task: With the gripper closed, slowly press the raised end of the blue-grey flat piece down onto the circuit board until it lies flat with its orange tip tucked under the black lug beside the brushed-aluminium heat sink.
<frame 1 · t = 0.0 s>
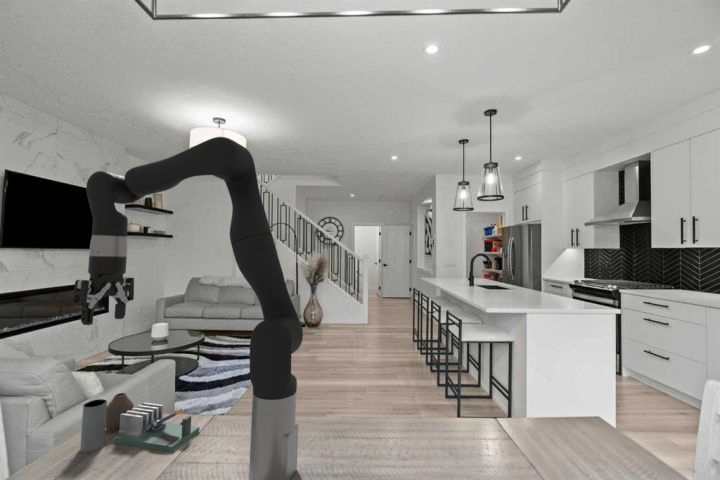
hand: (104, 321, 86), 29 cm above the table, tool pointing down, fingers open, 8 cm apart
heatsink: (141, 434, 90), resting on board
board: (158, 436, 89), on the table
blue-grey flat piece: (167, 417, 90), point 5 cm above the table, hinge at 30.0°
vase: (118, 429, 93), on the table
lug: (185, 438, 89), resting on board
planter: (92, 448, 84), on the table
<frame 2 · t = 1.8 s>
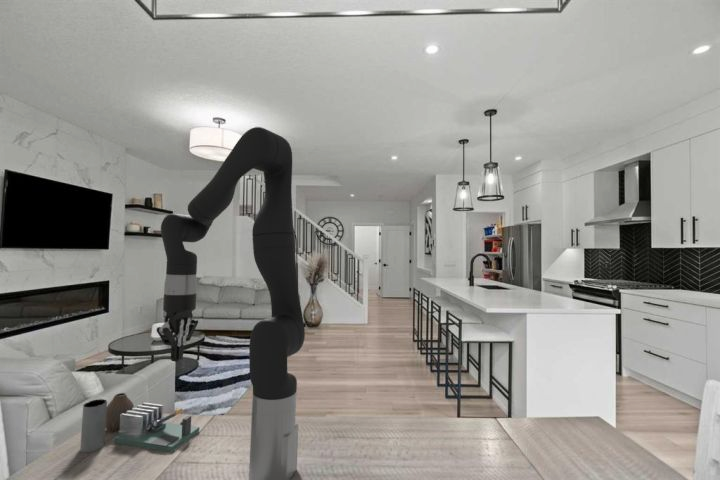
hand: (176, 360, 90), 19 cm above the table, tool pointing down, fingers closed
nothing on the table moved.
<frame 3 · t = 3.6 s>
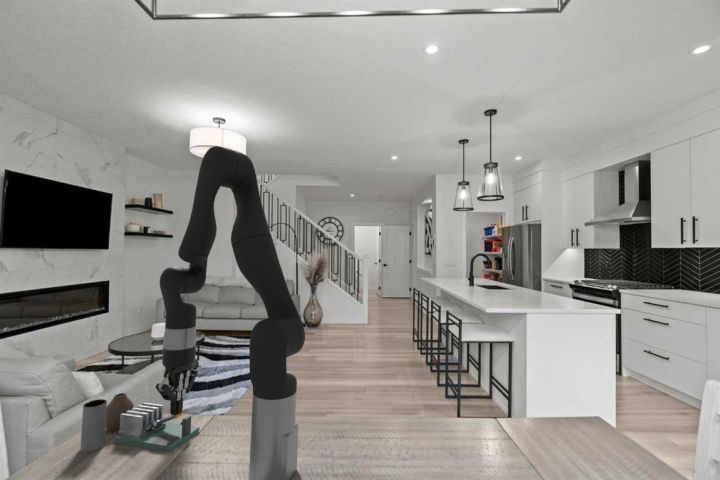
hand: (176, 414, 90), 6 cm above the table, tool pointing down, fingers closed
blue-grey flat piece: (168, 418, 90), point 4 cm above the table, hinge at 24.4°, touching gripper
everything else where it was.
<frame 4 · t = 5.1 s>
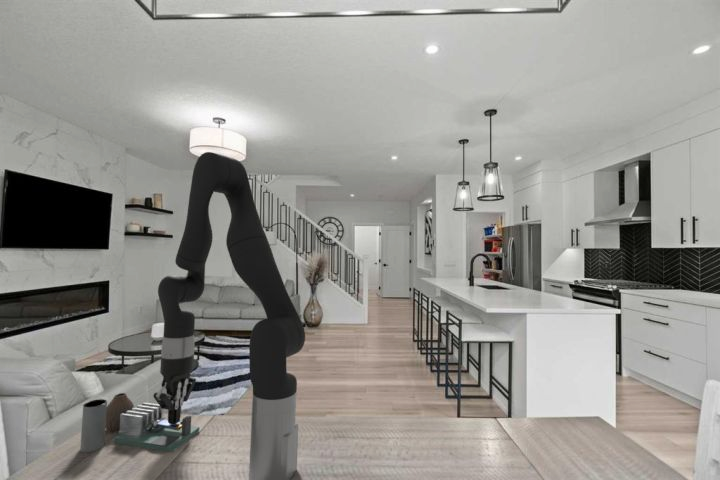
hand: (174, 422, 90), 4 cm above the table, tool pointing down, fingers closed
blue-grey flat piece: (168, 424, 90), point 3 cm above the table, hinge at -2.5°
everything else where it was.
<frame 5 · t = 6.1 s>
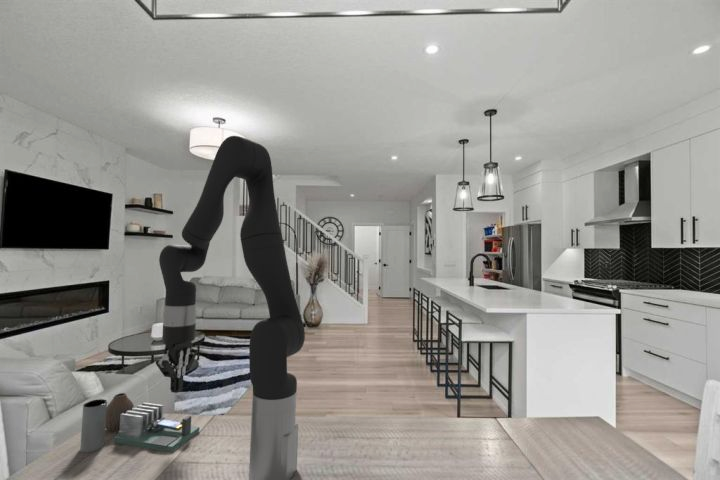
hand: (176, 391, 90), 11 cm above the table, tool pointing down, fingers closed
blue-grey flat piece: (168, 424, 90), point 3 cm above the table, hinge at -3.0°
everything else where it was.
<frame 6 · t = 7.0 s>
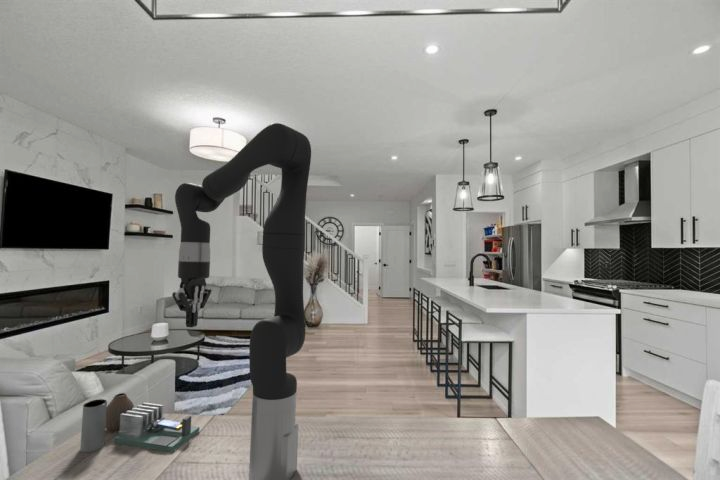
hand: (191, 326, 92), 27 cm above the table, tool pointing down, fingers closed
nothing on the table moved.
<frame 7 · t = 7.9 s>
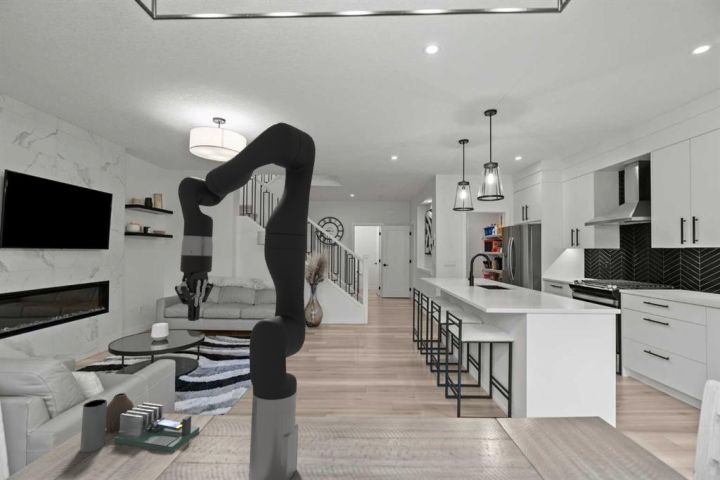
hand: (193, 320, 92), 29 cm above the table, tool pointing down, fingers closed
nothing on the table moved.
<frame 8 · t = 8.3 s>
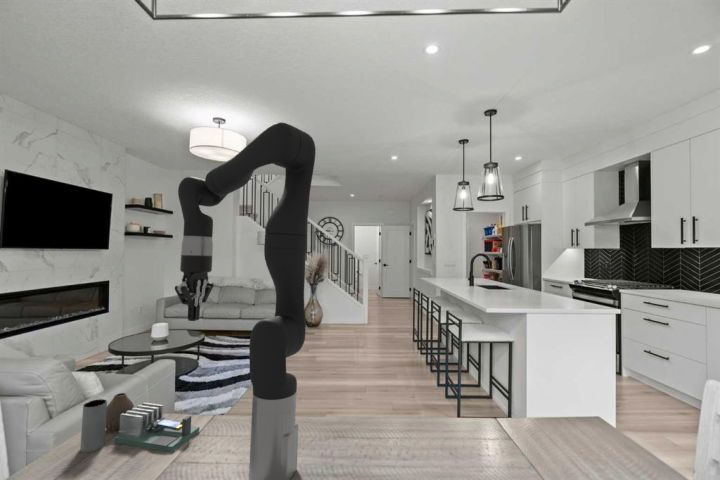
hand: (193, 320, 92), 29 cm above the table, tool pointing down, fingers closed
nothing on the table moved.
at the end: blue-grey flat piece at -3° (first picture: +30°) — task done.
